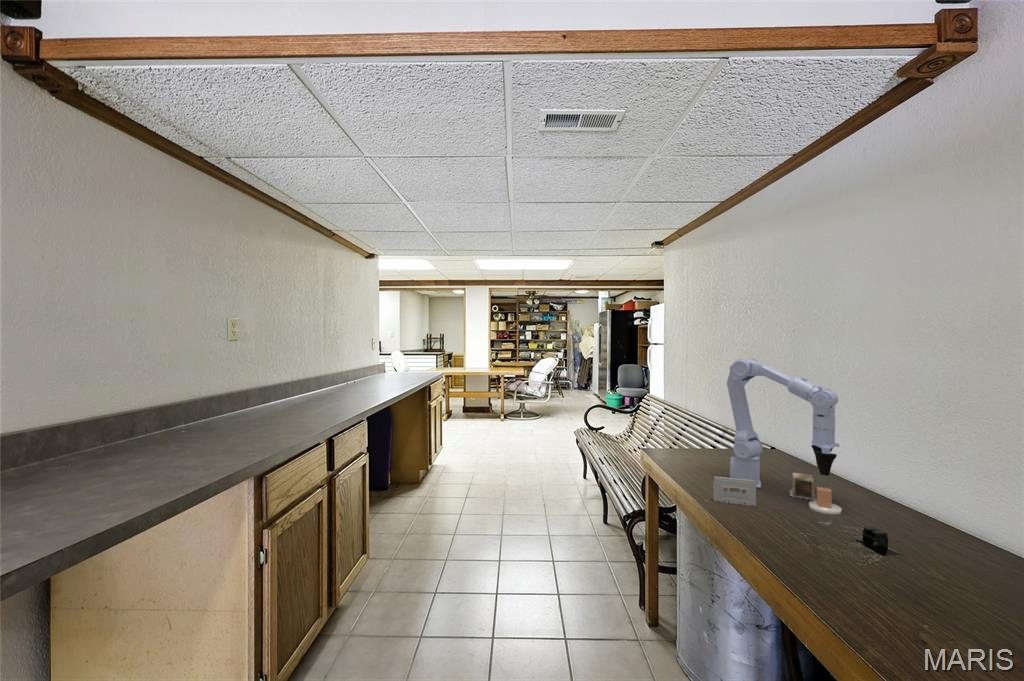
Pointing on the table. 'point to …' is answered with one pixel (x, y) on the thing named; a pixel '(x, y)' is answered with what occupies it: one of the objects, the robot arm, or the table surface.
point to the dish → (834, 511)
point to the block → (824, 497)
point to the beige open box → (802, 484)
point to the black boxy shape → (876, 541)
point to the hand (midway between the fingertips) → (823, 471)
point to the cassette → (733, 496)
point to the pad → (803, 495)
